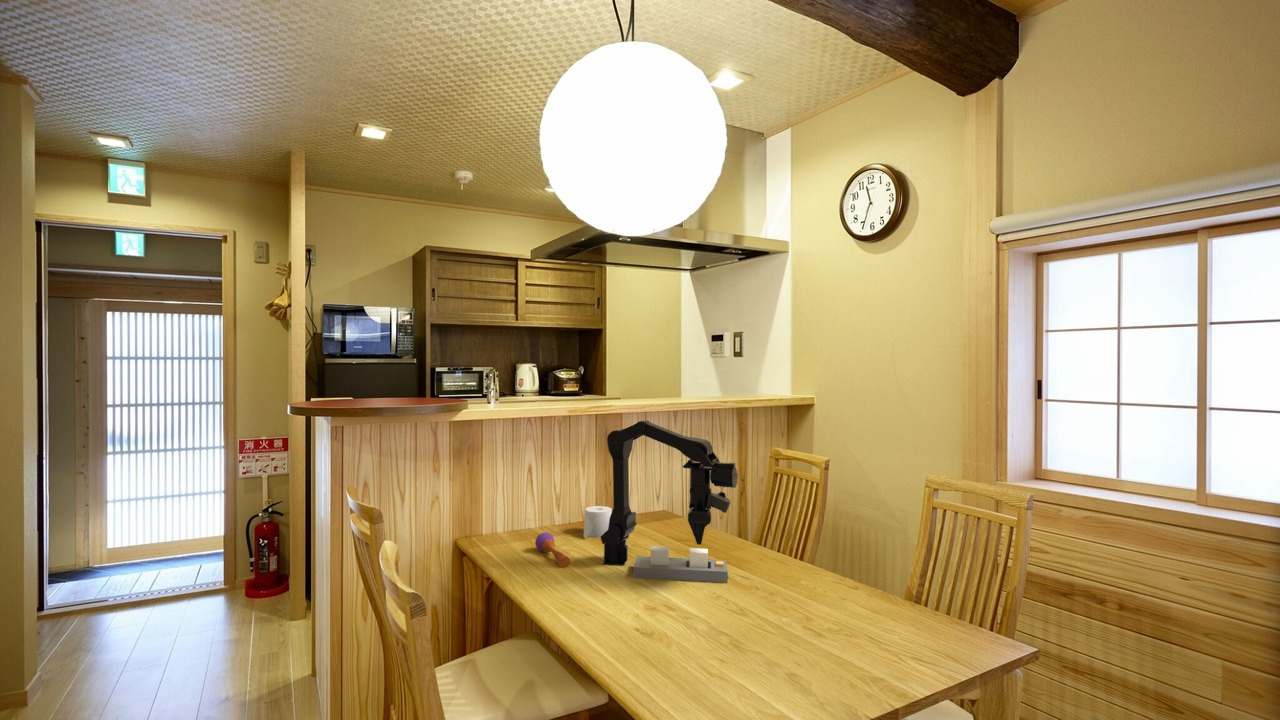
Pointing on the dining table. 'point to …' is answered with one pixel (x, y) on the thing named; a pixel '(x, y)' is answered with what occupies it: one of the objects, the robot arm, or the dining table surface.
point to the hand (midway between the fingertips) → (699, 539)
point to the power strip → (677, 568)
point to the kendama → (550, 548)
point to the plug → (698, 558)
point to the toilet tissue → (596, 521)
